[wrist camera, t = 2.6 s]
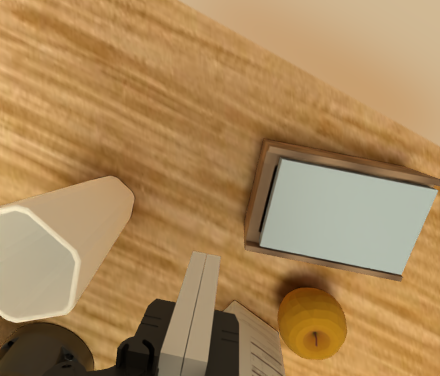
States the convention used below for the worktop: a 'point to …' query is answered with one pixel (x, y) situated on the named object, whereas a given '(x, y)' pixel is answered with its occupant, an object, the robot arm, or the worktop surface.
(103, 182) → the cup
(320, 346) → the apple
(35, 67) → the worktop surface
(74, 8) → the worktop surface
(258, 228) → the box
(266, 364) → the supplement box
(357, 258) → the cover plate
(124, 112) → the worktop surface
